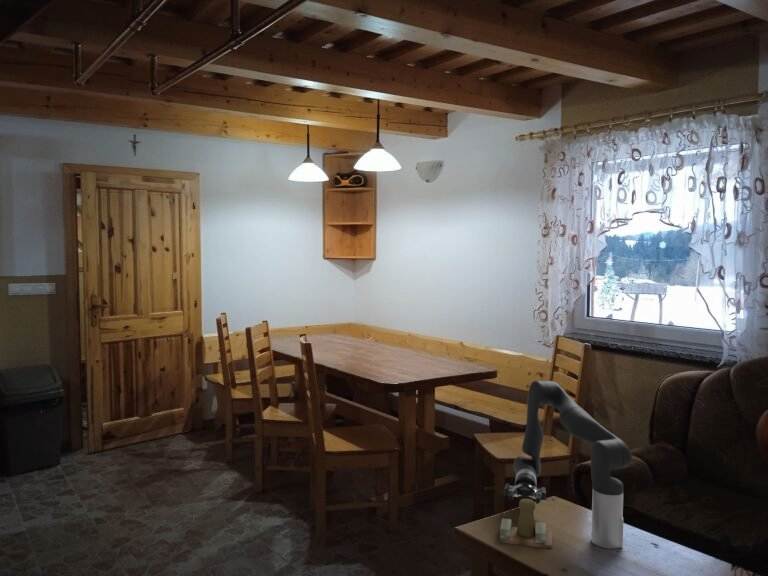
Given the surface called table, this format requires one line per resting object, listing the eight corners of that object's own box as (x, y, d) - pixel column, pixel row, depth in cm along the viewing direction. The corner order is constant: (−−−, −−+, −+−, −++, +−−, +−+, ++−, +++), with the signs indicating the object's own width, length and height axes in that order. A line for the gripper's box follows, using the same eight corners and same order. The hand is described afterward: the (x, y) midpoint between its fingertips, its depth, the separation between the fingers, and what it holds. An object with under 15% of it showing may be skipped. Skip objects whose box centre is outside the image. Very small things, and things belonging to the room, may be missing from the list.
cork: (536, 537, 199) (538, 503, 198) (517, 536, 199) (518, 502, 199) (534, 530, 205) (535, 497, 204) (515, 528, 205) (517, 495, 205)
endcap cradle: (551, 534, 204) (551, 522, 204) (551, 548, 194) (551, 536, 194) (502, 528, 208) (502, 517, 208) (499, 542, 198) (500, 530, 198)
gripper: (506, 470, 228) (503, 486, 212) (546, 474, 224) (546, 491, 209) (505, 490, 228) (502, 508, 213) (545, 494, 225) (545, 513, 209)
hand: (524, 499), depth 211 cm, fingers open, 8 cm apart
